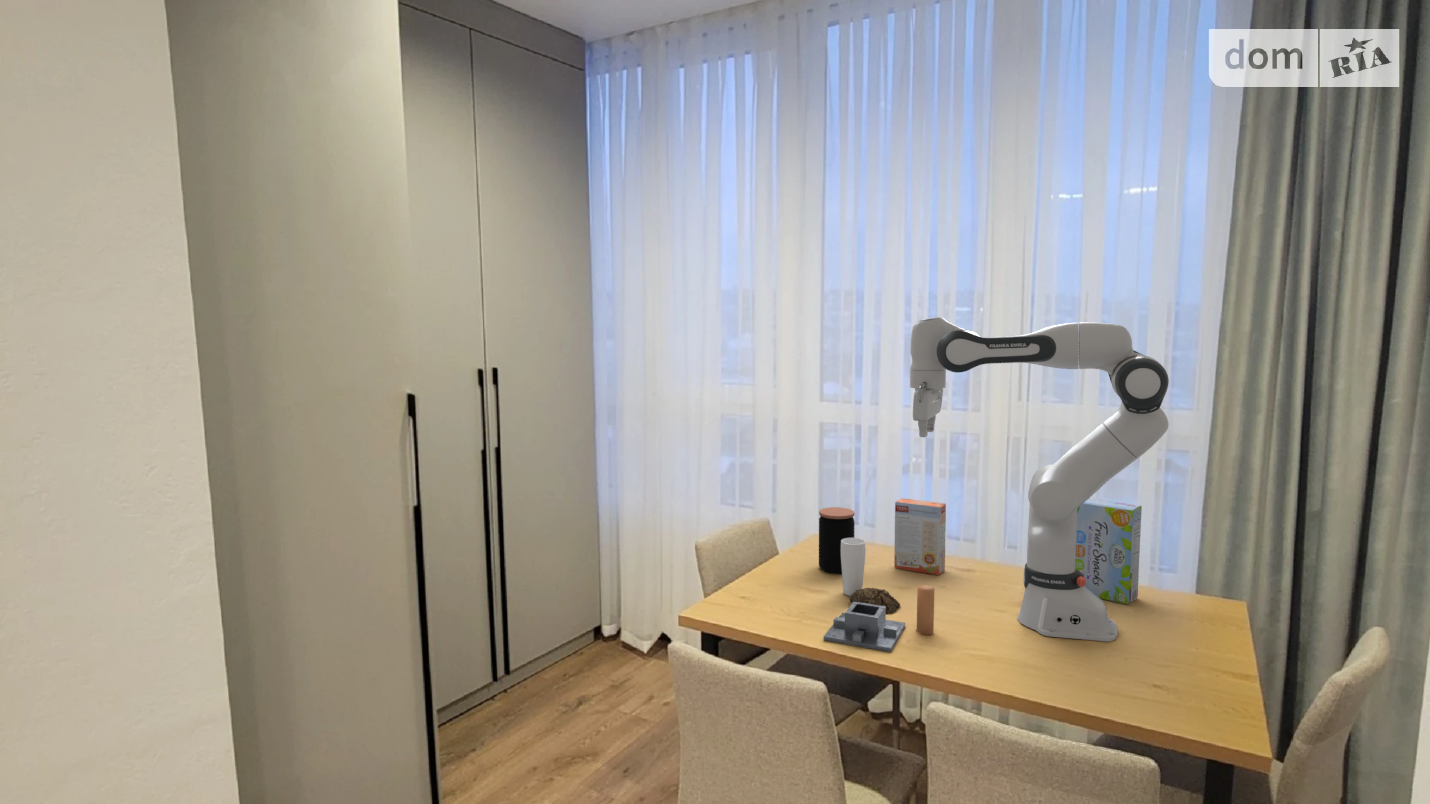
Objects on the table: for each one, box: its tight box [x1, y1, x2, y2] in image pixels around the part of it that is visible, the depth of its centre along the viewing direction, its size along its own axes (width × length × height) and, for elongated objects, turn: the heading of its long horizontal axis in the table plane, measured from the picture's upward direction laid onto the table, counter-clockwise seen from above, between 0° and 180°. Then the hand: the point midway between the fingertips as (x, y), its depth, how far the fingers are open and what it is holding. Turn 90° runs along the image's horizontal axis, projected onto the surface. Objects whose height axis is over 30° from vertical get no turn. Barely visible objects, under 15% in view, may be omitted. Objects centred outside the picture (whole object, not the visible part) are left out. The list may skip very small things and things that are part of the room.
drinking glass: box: [841, 537, 866, 597], centre depth 213 cm, size 7×7×15 cm
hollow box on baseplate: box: [823, 602, 906, 653], centre depth 187 cm, size 16×16×6 cm
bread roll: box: [849, 587, 901, 614], centre depth 205 cm, size 13×12×5 cm
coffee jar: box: [818, 506, 855, 575], centre depth 233 cm, size 11×11×18 cm
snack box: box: [1075, 498, 1143, 605], centre depth 211 cm, size 22×9×26 cm, turn 46°
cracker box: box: [893, 497, 947, 576], centre depth 232 cm, size 14×6×21 cm, turn 56°
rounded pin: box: [916, 584, 935, 636], centre depth 187 cm, size 4×4×11 cm
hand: (926, 434), depth 199 cm, fingers open, 8 cm apart
